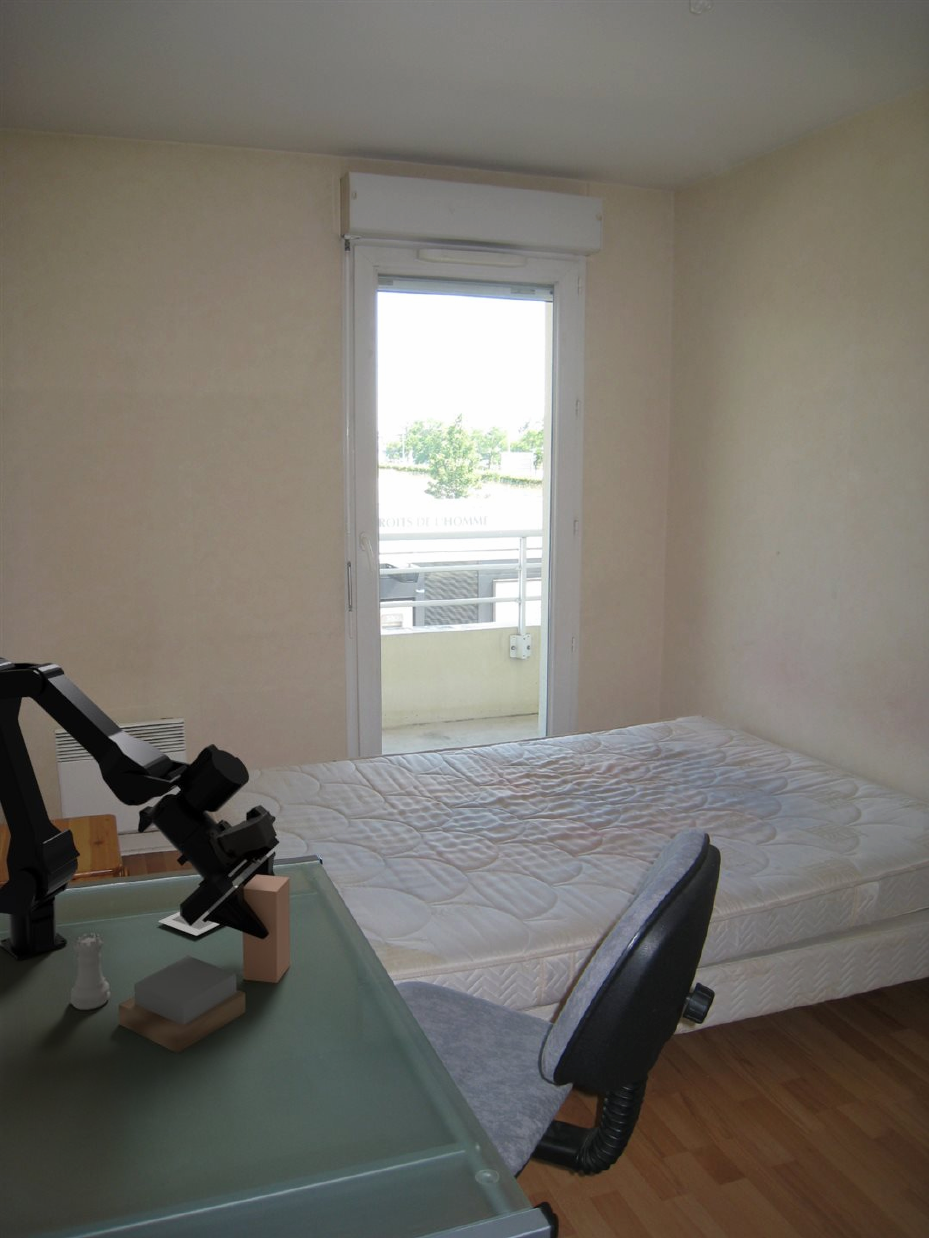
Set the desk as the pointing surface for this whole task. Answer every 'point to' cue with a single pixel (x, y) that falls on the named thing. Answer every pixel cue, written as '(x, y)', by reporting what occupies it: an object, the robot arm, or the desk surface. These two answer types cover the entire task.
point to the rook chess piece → (89, 975)
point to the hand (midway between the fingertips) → (276, 924)
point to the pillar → (274, 911)
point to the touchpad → (182, 925)
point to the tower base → (173, 1032)
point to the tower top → (185, 989)
